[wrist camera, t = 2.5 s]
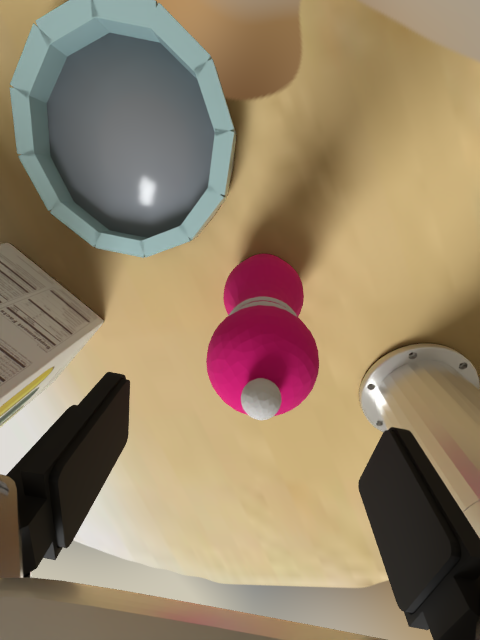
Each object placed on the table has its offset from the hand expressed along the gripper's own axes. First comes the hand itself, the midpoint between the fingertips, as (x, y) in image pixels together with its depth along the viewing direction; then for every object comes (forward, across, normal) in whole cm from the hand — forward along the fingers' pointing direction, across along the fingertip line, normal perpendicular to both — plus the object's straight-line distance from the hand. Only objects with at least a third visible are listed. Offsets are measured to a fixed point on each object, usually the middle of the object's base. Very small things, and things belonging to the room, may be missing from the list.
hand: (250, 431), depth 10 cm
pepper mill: (+22, -1, 0) cm, 22 cm away
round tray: (+22, +13, -10) cm, 27 cm away
